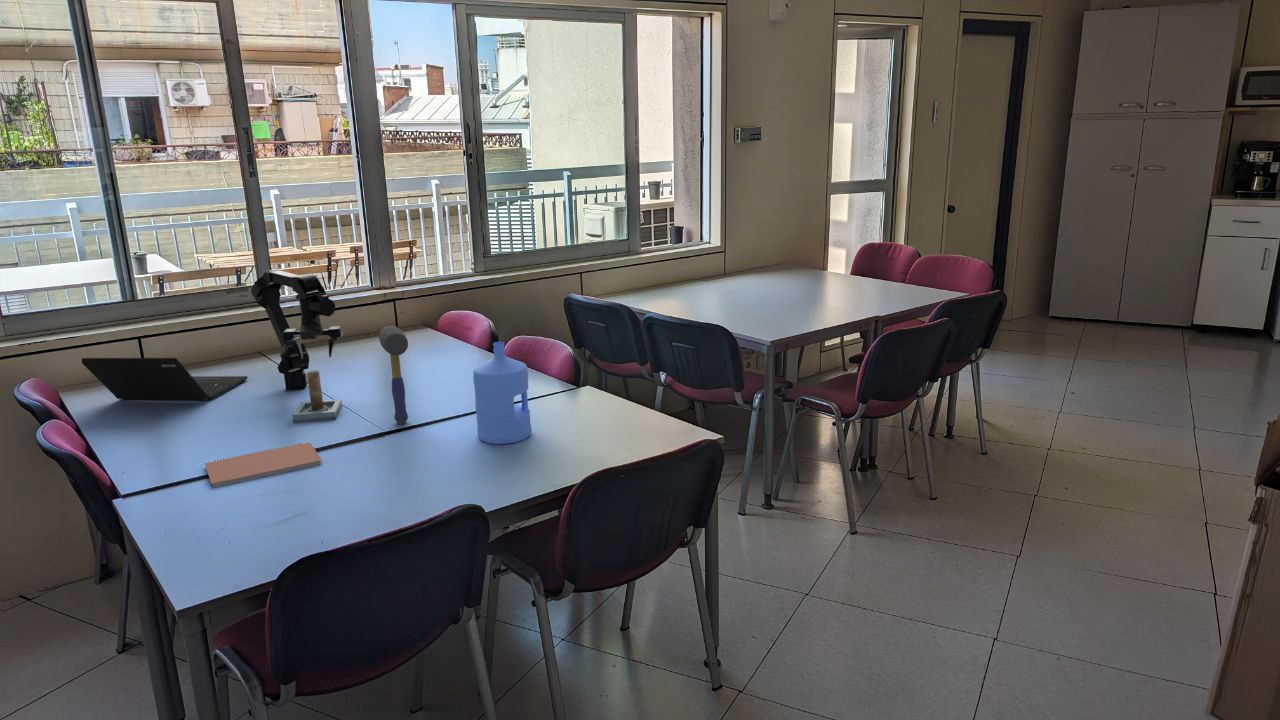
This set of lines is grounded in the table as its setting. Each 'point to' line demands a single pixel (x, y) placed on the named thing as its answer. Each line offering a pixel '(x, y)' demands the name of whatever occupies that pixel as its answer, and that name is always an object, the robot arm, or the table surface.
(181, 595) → the table surface
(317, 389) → the wooden post on disc
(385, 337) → the rubber mallet
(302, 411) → the tray
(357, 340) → the table surface
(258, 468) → the notebook
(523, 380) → the water jug
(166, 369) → the laptop
